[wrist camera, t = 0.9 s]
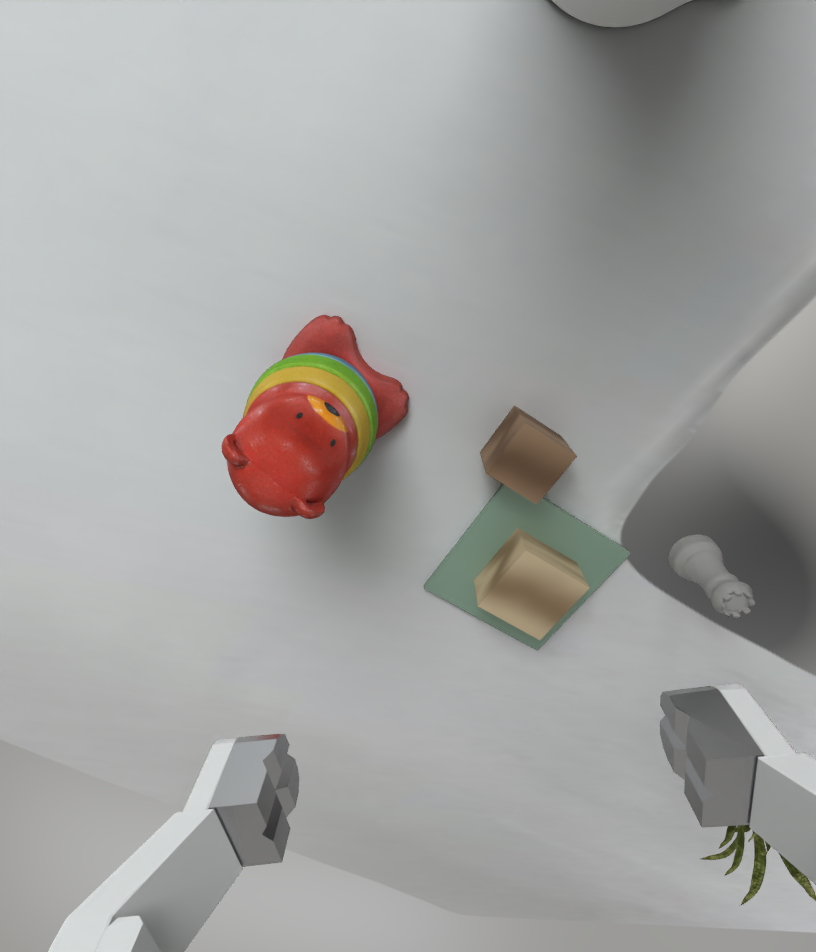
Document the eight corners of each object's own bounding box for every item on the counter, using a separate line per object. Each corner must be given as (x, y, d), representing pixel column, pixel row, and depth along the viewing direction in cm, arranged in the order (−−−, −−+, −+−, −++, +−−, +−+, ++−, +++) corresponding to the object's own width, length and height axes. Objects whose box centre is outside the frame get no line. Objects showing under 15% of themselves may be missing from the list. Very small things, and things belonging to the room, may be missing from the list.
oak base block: (517, 527, 46) (525, 550, 42) (576, 562, 47) (589, 587, 44) (473, 580, 48) (477, 606, 45) (531, 612, 50) (539, 640, 46)
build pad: (508, 476, 45) (509, 479, 44) (628, 550, 47) (630, 553, 47) (424, 585, 50) (424, 588, 49) (536, 646, 52) (537, 650, 52)
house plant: (632, 765, 59) (703, 938, 44) (632, 677, 53) (712, 839, 38) (760, 754, 57) (879, 928, 42) (772, 662, 52) (913, 824, 37)
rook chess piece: (707, 572, 48) (758, 629, 41) (660, 571, 48) (703, 626, 41) (720, 532, 46) (775, 583, 39) (671, 530, 46) (717, 581, 39)
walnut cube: (514, 405, 42) (525, 422, 38) (560, 435, 43) (577, 456, 39) (480, 451, 44) (486, 473, 39) (525, 480, 45) (536, 504, 40)
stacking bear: (419, 403, 42) (415, 491, 26) (335, 474, 45) (283, 594, 29) (330, 302, 39) (262, 330, 23) (245, 385, 42) (132, 462, 26)
